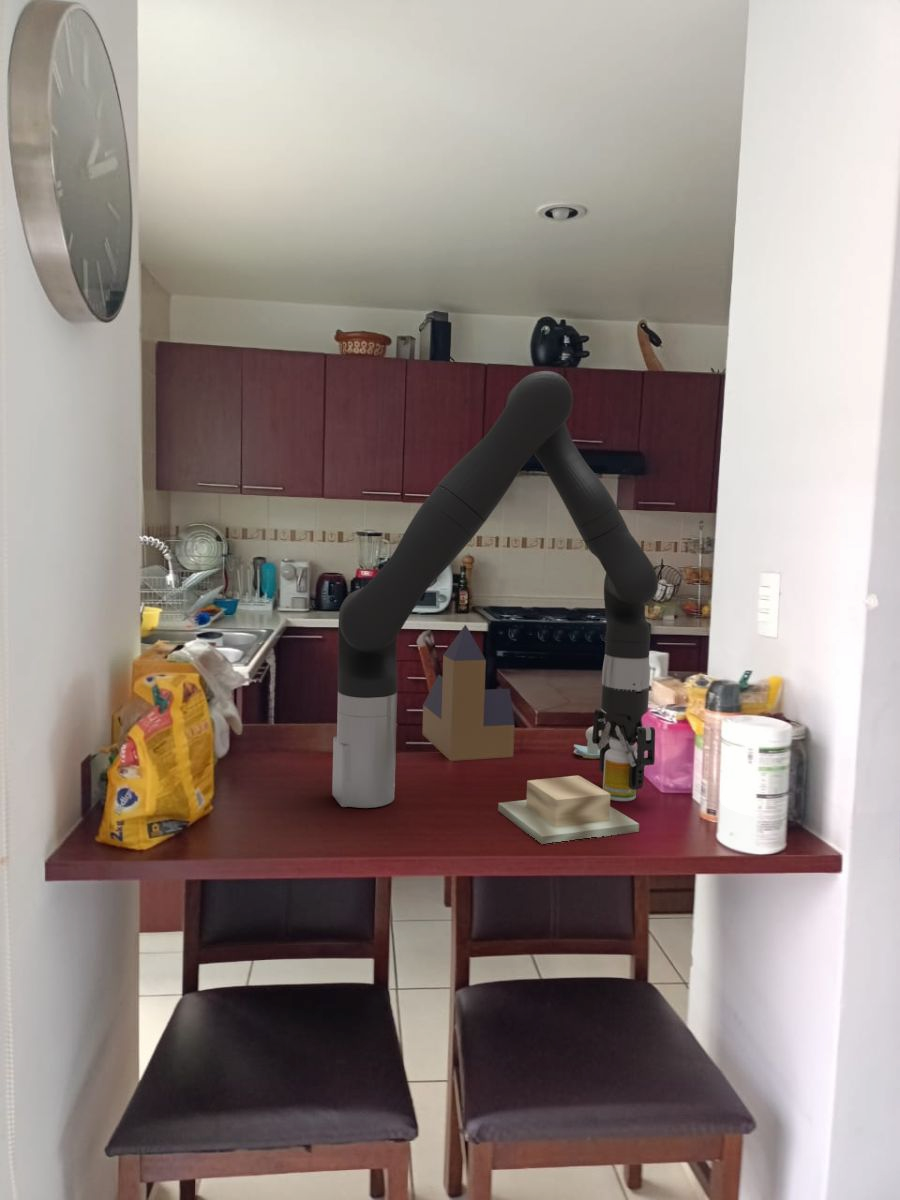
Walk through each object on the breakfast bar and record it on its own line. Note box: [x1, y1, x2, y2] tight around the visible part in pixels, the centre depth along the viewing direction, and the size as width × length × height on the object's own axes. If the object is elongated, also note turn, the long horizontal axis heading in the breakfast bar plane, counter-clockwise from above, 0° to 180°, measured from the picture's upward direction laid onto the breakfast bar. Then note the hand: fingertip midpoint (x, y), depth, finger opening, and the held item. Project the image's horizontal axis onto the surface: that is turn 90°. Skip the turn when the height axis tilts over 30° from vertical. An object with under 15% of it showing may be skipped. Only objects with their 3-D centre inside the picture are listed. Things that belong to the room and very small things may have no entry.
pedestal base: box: [497, 775, 640, 845], centre depth 123 cm, size 16×14×5 cm
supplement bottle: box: [602, 737, 637, 802], centre depth 135 cm, size 5×5×10 cm
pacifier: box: [573, 725, 602, 760], centre depth 158 cm, size 7×6×6 cm
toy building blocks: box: [421, 624, 516, 762], centre depth 162 cm, size 12×19×25 cm, turn 18°
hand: (620, 780), depth 135 cm, fingers open, 8 cm apart
